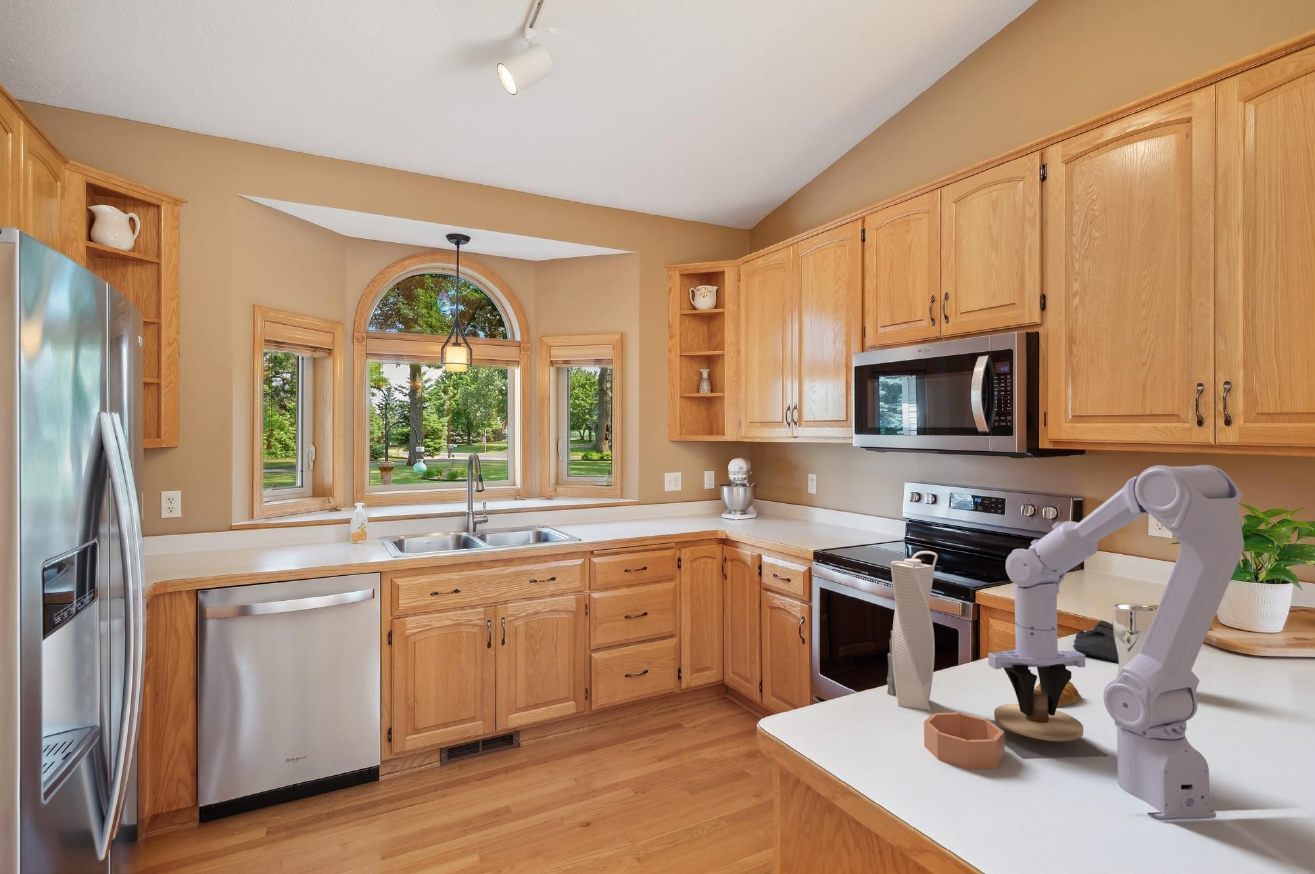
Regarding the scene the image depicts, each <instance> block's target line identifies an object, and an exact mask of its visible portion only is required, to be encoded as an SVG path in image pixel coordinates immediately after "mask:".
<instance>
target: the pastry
mask: <svg viewBox="0 0 1315 874" xmlns="http://www.w3.org/2000/svg"><path fill="white" fill-rule="evenodd" d="M1034 690H1039V691H1041V686H1040V682H1039V683H1038V685H1037V686H1035V687H1034ZM1081 699H1082V695H1081V694H1080V693H1079V691H1078V689H1077V688H1076V687H1075V685H1074V684H1073V682H1071V680H1069V682H1068V683H1067V684H1066V686H1065V688H1064V689H1063V691H1062V693H1061V696H1060V699H1059V701H1058V705H1057V708H1061V707H1068V706H1070V705H1074V704H1075V703H1076V702H1078V701H1079V700H1081Z"/></svg>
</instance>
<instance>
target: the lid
mask: <svg viewBox="0 0 1315 874" xmlns="http://www.w3.org/2000/svg"><path fill="white" fill-rule="evenodd" d="M993 711H994V712H993V715H994V716H993V718H994V720H996V722H997V723H998V724H1000V725H1001V726H1002V727H1004V728H1006V729H1008V730H1010V731H1012V732H1015V733H1018V734H1021V735H1024V736H1027V737H1031V738H1036V739H1041V740H1048V741H1072V740H1076V739H1079V738H1081V739H1082V737H1083V736H1084V725H1083V724H1082V722H1080V721H1079V720H1078V719H1077V718H1075V717H1074V716H1072V715H1069V714H1067V713H1065V712H1062V711H1059V710H1057V709H1056V712H1055V715H1049V714H1048V694H1047V693H1045V692H1043V691H1039V690H1034V694H1033V715H1032V716H1027V715H1025V714H1024V713H1022V712H1021V711H1020V707H1019V703H1009V704H1003V705H1002V704H1001V705H1000V706H997V707H996V708H994V710H993Z"/></svg>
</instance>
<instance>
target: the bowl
mask: <svg viewBox="0 0 1315 874" xmlns="http://www.w3.org/2000/svg"><path fill="white" fill-rule="evenodd" d="M923 723H924V724H923V731H924V732H923V733H924V735H923V737H924V739H923V741H924V743H923V746H924V748H925V749H927V751H928V752H929V753H931V754H932V755H933V756H934V758H936V759H937V760H938V761H941V762H944V763H948V764H952V765H955V766H958V767H960V768H965V769H968V770H969V769H971V770H972V769H973V770H974V769H975V770H976V769H997V768H998V767H999V766H1000V764H1001V763H1002V761H1004V759H1005V745H1004V731H1003V730H1001V729H1000V728H998V727H997V726H996V725H994V724H993V723H992V722H990V721H989V719H986V718H982V717H978V716H974V715H970V714H967V713H964V712H963V713H962V712H934V713H932V714H931V715H930V716H929V717H928V718H927V719H925V720H924V721H923Z"/></svg>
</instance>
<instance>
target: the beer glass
mask: <svg viewBox="0 0 1315 874" xmlns="http://www.w3.org/2000/svg"><path fill="white" fill-rule="evenodd" d="M1155 613H1156V608H1154V607H1151V606H1147V605H1143V604H1136V603H1123V602H1122V603H1114V605H1113V613H1112V616H1113V617H1112V624H1113V634H1114V640H1115V645H1116V650H1117V654H1118V661H1119V663H1118V669H1117V675H1116V678H1117V677H1118V676H1119V674H1120V672H1121V669H1122V668H1123V667H1124V666H1125V665H1126V664H1127V663H1128V662H1130V661H1131V660H1132V659H1133V658H1134V657H1136V656H1137V655H1138V654H1139V653H1140V651H1141V648H1142V646H1143V643H1144V641H1145V638H1146V636H1147V633H1148V631H1149V628H1150V626H1151V623H1152V621H1153V618H1154V616H1155Z"/></svg>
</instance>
